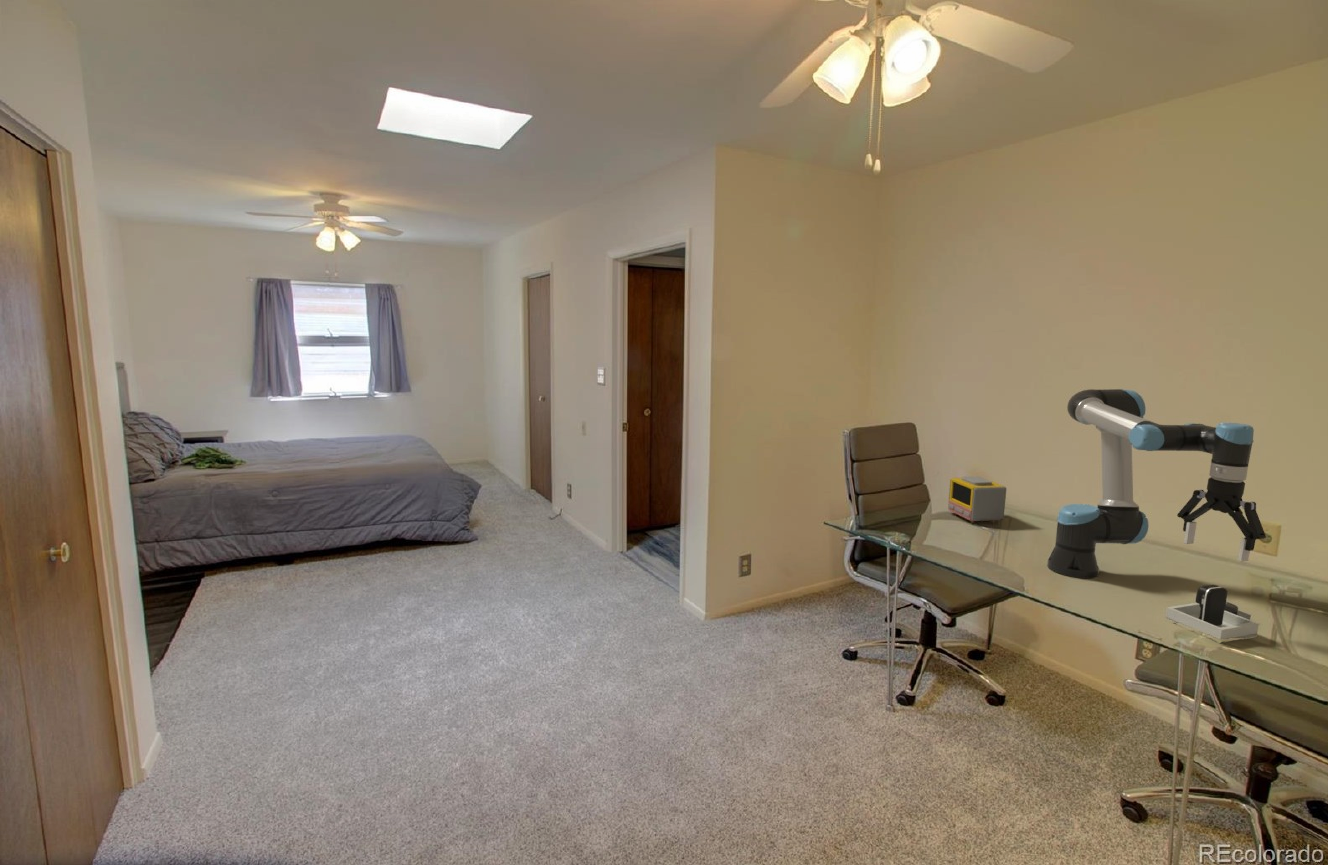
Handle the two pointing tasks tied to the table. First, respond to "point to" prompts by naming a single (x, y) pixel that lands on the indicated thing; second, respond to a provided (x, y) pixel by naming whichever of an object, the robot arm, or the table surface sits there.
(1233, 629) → the tray
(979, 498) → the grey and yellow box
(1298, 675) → the table surface
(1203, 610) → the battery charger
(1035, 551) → the table surface
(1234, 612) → the speaker
